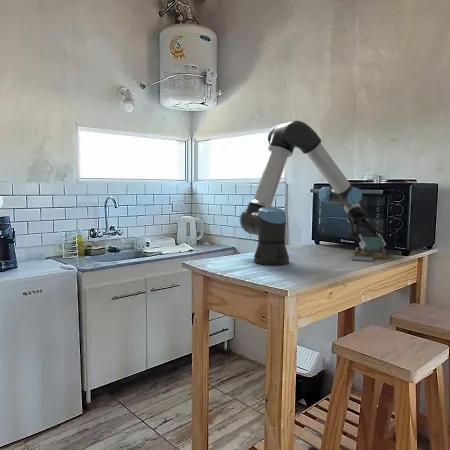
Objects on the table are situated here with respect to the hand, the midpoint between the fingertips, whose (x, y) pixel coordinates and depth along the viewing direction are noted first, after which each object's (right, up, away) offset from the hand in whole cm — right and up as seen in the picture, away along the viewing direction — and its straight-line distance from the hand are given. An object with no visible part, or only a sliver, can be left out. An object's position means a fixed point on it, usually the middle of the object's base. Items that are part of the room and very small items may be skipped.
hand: (374, 246), depth 189 cm
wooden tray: (-1, -4, +3) cm, 5 cm away
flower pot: (-1, -4, +3) cm, 5 cm away
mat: (-8, -5, -7) cm, 11 cm away
